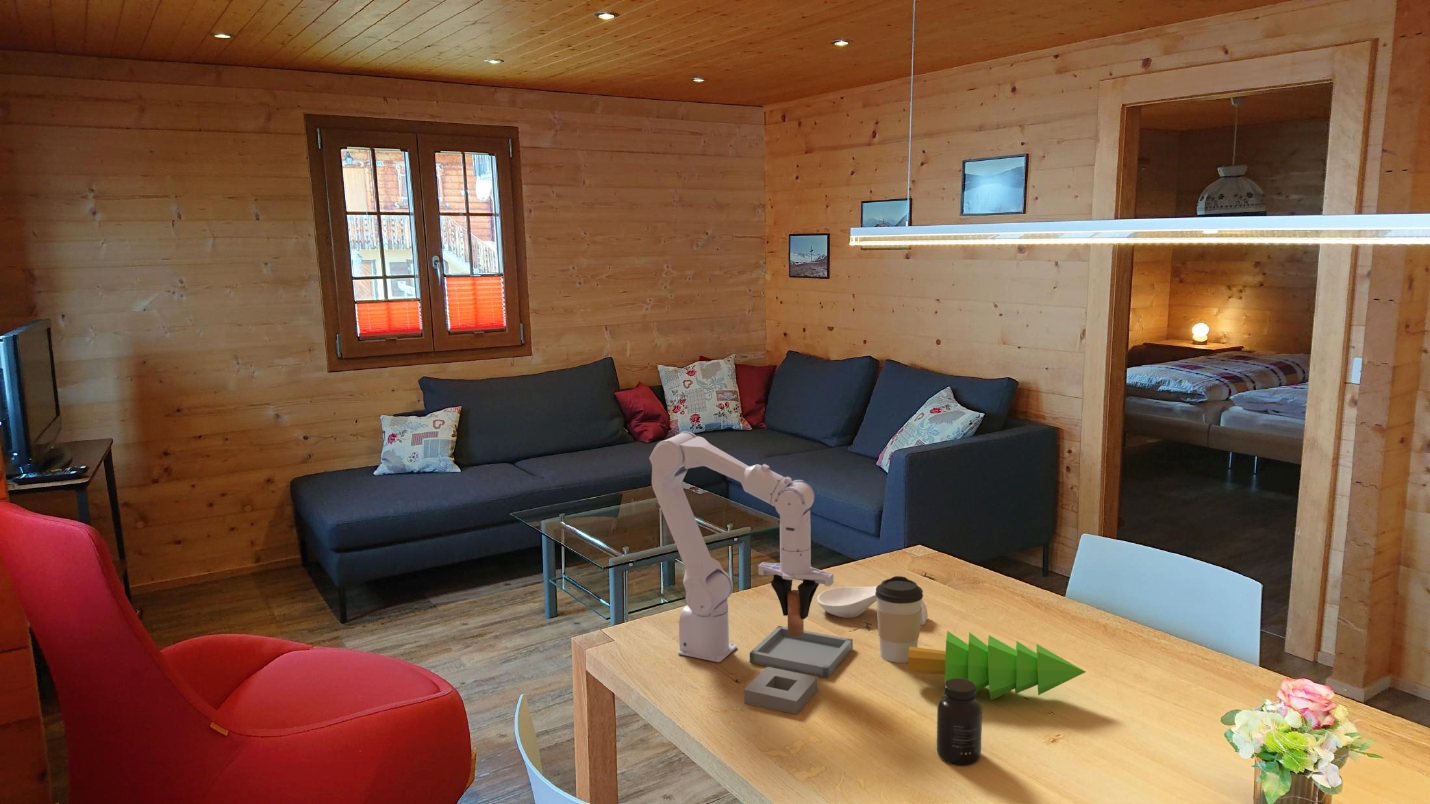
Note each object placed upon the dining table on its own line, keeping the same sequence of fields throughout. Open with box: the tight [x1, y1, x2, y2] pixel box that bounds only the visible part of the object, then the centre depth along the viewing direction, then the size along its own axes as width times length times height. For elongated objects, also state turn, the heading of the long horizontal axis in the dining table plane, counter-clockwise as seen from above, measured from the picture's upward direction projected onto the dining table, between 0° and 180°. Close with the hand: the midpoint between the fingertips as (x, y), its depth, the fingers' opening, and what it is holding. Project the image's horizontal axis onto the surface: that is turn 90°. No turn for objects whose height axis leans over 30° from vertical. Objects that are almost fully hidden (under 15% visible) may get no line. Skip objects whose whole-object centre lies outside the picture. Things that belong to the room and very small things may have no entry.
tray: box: [749, 625, 854, 679], centre depth 186 cm, size 16×14×2 cm
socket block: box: [743, 666, 819, 716], centre depth 170 cm, size 10×10×2 cm
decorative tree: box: [907, 630, 1087, 701], centre depth 168 cm, size 11×12×30 cm
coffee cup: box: [875, 575, 924, 664], centre depth 185 cm, size 9×9×15 cm
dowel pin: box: [787, 589, 805, 636], centre depth 180 cm, size 3×3×8 cm
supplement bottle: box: [936, 678, 983, 767], centre depth 149 cm, size 7×7×12 cm
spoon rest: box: [816, 585, 929, 626], centre depth 205 cm, size 24×12×7 cm, turn 69°
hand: (795, 615), depth 180 cm, fingers closed on dowel pin, 3 cm apart
